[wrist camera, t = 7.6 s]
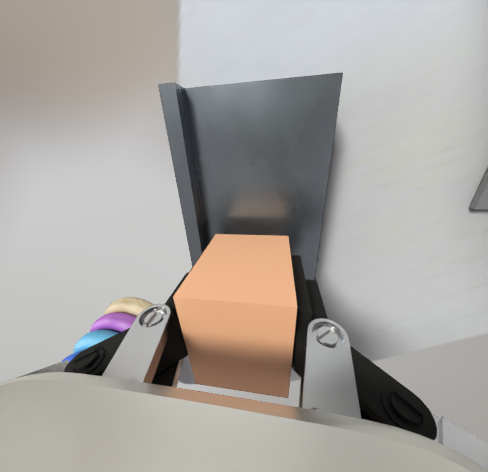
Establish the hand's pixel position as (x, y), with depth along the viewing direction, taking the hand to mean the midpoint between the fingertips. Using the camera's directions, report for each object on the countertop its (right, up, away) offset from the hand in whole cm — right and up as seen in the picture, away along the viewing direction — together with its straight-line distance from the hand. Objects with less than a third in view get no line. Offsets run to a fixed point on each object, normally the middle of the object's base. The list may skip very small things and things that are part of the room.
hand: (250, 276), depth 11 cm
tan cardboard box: (0, 0, +1) cm, 1 cm away
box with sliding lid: (+1, +1, +6) cm, 6 cm away
